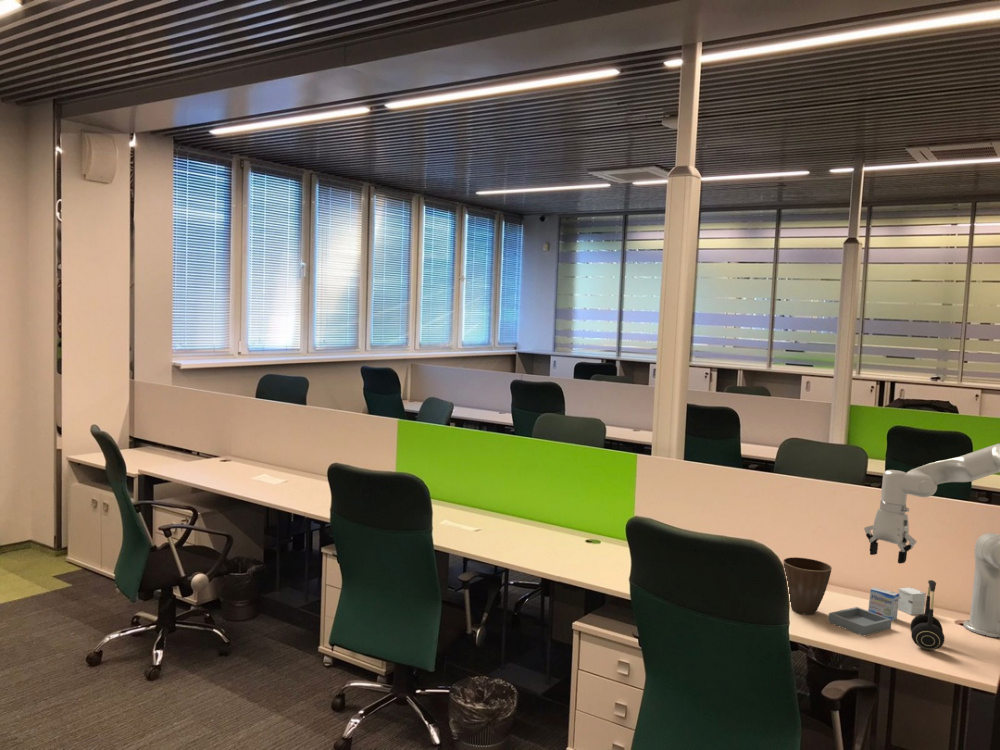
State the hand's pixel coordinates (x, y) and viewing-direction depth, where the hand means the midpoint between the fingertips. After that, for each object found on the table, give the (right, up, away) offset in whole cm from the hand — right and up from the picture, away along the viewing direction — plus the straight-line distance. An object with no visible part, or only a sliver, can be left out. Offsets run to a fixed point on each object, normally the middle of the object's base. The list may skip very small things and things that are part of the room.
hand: (887, 558), depth 253 cm
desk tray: (-14, -19, -9) cm, 25 cm away
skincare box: (+12, -20, +8) cm, 25 cm away
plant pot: (-28, -18, +1) cm, 33 cm away
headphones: (0, -21, -23) cm, 31 cm away
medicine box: (-1, -20, +1) cm, 20 cm away
